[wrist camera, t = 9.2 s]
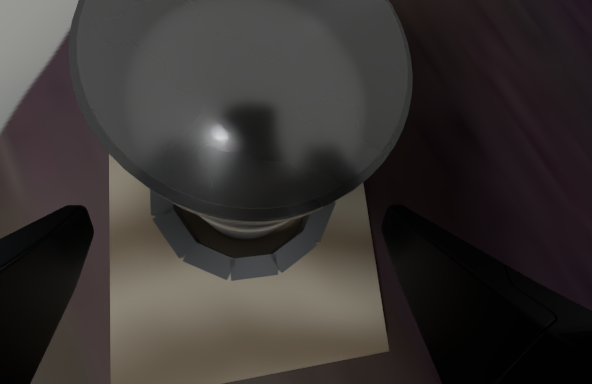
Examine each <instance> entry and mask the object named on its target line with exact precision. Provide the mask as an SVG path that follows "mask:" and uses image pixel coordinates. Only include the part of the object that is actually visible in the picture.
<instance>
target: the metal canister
mask: <svg viewBox="0 0 592 384" xmlns="http://www.w3.org/2000/svg"><path fill="white" fill-rule="evenodd" d="M69 68H70V73H71V79H72V85H73V89H74V92H75V95H76V98H77V100H78V103H79V106H80V109H81V111H82V113H83V115H84V117H85V119H86V121H87V123H88V125H89V126H90V128H91V130H92V132H93V133H94V135H95V136H96V137H97V139H98V140H99V141H100V143H101V144H102V146H103V147H104V148H105V150H106V151H107V152H108V153H109V154H110V155H111V156H112V157H113V158H114V159H115V160H116V161H117V162H118V163H119V164H120V165H121V166H122V167H123V168H124V169H125V170H126V171H127V172H128V173H130V174H131V175H132V176H134V177H135V178H136V179H137V180H139V181H140V182H141V183H143V184H144V185H145V186H147V187H148V188H150V189H151V190H153V191H154V192H156V193H157V194H159V195H160V196H161V197H163V198H165V199H166V200H168V201H170V202H172V203H173V204H175V205H177V206H178V207H180V208H182V209H184V210H187V211H189V212H192V213H194V214H197V215H199V216H200V217H201V218H202V219H203V220H205V221H206V222H207V223H208V224H210V225H211V226H212V227H213V228H215V229H216V230H217V231H218V232H220V233H222V234H224V235H226V236H228V237H231V238H234V239H240V240H251V239H257V238H261V237H263V236H266V235H268V234H270V233H271V232H273V231H274V230H276V229H277V228H279V227H281V226H282V225H284V224H285V223H287V222H288V221H290V220H293V219H297V218H300V217H303V216H305V215H308V214H310V213H313V212H315V211H317V210H320V209H321V208H323V207H325V206H327V205H329V204H331V203H332V202H334V201H336V200H338V199H339V198H341V197H343V196H344V195H346V194H348V193H350V192H351V191H353V190H354V189H355V188H357V187H358V186H359V185H361V184H362V183H363V182H364V181H366V180H367V179H368V178H369V177H370V176H371V175H372V174H373V173H374V172H375V171H376V170H377V169H378V168H379V167H380V166H381V165H382V164H383V162H384V161H385V159H386V158H387V157H388V155H389V154H390V152H391V151H392V149H393V148H394V146H395V144H396V142H397V140H398V138H399V136H400V134H401V132H402V130H403V128H404V125H405V122H406V119H407V116H408V113H409V107H410V102H411V96H412V80H413V74H412V63H411V56H410V51H409V47H408V42H407V39H406V36H405V33H404V30H403V27H402V25H401V22H400V20H399V18H398V16H397V14H396V12H395V10H394V8H393V6H392V4H391V3H390V1H389V0H79V1H78V4H77V8H76V11H75V14H74V17H73V20H72V25H71V31H70V38H69Z"/></svg>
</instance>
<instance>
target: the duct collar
mask: <svg viewBox="0 0 592 384" xmlns="http://www.w3.org/2000/svg"><path fill="white" fill-rule="evenodd" d="M335 204H336V203H335V202H332V203H331V204H329V205H327V206H325V207H323V208H321V209H320V210H317V211H315V212H313V213H310V214H308V215H305V216H303V219H302V221H301V223H300V226H299V228H298V230H297V233H296V234H295V235H293V236H292V237H291V238H289V239H288V240H287V241H285V242H284V243H283V244H281V245H280V246H279V247H277V248H276V249H275V250H273V251H272V252H271V253H269V254H261V255H253V256H244V257H236V258H234V257H232V256H229V255H227V254H225V253H222V252H220V251H218V250H216V249H213V248H211V247H209V246H206V245H204V244H202V243H201V242H200V240H199V239H198V237H197V236H196V235H195V233H194V232H193V230H192V229H191V227H190V226H189V225H188V223H187V222H186V220H185V219H184V217H183V216H182V212H181V208H180V207H178V206H177V205H175V204H173V203H172V202H170V201H168V200H166V199H165V198H163V197H161V196H160V195H159V194H157V193H156V192H154V191H153V190H151V189H150V209H151V215H152V216H154V217H155V218H153V219H152V220H153V221H154V223H155V224H156V226H157V227H158V229H159V230H160V231H161V233H162V234H163V236H164V237H165V239H166V240H167V242H168V243H169V245H170V246H171V247H172V249H173V250H174V252H175V253H176V255H177V256H178V258H184V259H183V262H186V263H188V264H190V265H192V266H195V267H197V268H199V269H202V270H204V271H206V272H209V273H211V274H213V275H216V276H218V277H220V278H223V279H225V280H227V279H228V277H229V275H230V273H231V281H235V280H242V279H250V278H257V277H265V276H272V275H278V271H279V272H281V273H283V272H284V271H285V270H287V269H288V268H289V267H291V266H292V265H293V264H294V263H296V262H297V261H298V260H300V259H301V258H302V257H303V256H305V255H306V254H307V253H309V252H310V251H311V250H312V249H314V248H315V247H316V246H318V245H317V244H316V243H317V242H320V241H321V239H322V236H323V234H324V231H325V229H326V226H327V224H328V221H329V219H330V216H331V214H332V211H333V209H334V206H335Z"/></svg>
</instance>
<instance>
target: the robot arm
mask: <svg viewBox="0 0 592 384" xmlns="http://www.w3.org/2000/svg"><path fill="white" fill-rule="evenodd" d="M382 233H383V237H384V240H385V243H386V247H387V250H388V253H389V256H390V260H391V263H392V266H393V269H394V272H395V274H396V277H397V279H398V282H399V284H400V286H401V289H402V291H403V293H404V296H405V298H406V300H407V302H408V305H409V307H410V309H411V312H412V314H413V316H414V319H415V321H416V323H417V326H418V328H419V330H420V333H421V335H422V337H423V340H424V342H425V344H426V347H427V349H428V351H429V354H430V356H431V358H432V361H433V363H434V365H435V368H436V370H437V372H438V375H439V377H440V379H441V382H442V384H592V311H591V310H589V309H587V308H585V307H583V306H581V305H579V304H577V303H575V302H573V301H571V300H569V299H567V298H565V297H563V296H561V295H560V294H558V293H556V292H554V291H552V290H550V289H548V288H546V287H544V286H542V285H541V284H539V283H537V282H535V281H533V280H531V279H530V278H528V277H526V276H524V275H523V274H521V273H519V272H517V271H515V270H514V269H512V268H510V267H509V266H507V265H503V263H502V262H500V261H498V260H496V259H495V258H493V257H491V256H489V255H488V254H486V253H484V252H482V251H481V250H479V249H477V248H475V247H474V246H472V245H470V244H469V243H467V242H465V241H463V240H462V239H460V238H458V237H456V236H455V235H453V234H451V233H449V232H448V231H446V230H444V229H443V228H441V227H439V226H437V225H436V224H434V223H432V222H430V221H429V220H427V219H425V218H423V217H422V216H420V215H418V214H416V213H415V212H413V211H411V210H410V209H408V208H406V207H404V206H403V205H390V206H388V208H387V210H386V213H385V216H384V219H383V222H382ZM93 235H94V229H93V225H92V223H91V220H90V217H89V214H88V211H87V209H86V207H85V206H83V205H67V206H64V207H63V208H61V209H59V210H57V211H55V212H53V213H51V214H49V215H47V216H45V217H43V218H41V219H39V220H37V221H35V222H33V223H31V224H29V225H27V226H25V227H23V228H21V229H19V230H17V231H15V232H13V233H11V234H9V235H7V236H5V237H3V238H1V239H0V384H30V383H31V381H32V379H33V377H34V375H35V373H36V371H37V368H38V366H39V364H40V362H41V360H42V358H43V356H44V354H45V352H46V349H47V347H48V345H49V343H50V341H51V339H52V337H53V335H54V333H55V330H56V328H57V326H58V324H59V322H60V320H61V318H62V316H63V314H64V311H65V309H66V307H67V305H68V303H69V301H70V299H71V297H72V295H73V292H74V290H75V288H76V286H77V283H78V280H79V278H80V275H81V272H82V269H83V266H84V263H85V260H86V257H87V254H88V251H89V248H90V245H91V242H92V239H93Z"/></svg>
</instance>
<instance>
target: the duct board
mask: <svg viewBox="0 0 592 384" xmlns="http://www.w3.org/2000/svg"><path fill="white" fill-rule="evenodd" d="M109 200H110V349H111V384H222V383H228V382H233V381H238V380H243V379H248V378H253V377H258V376H263V375H269V374H274V373H279V372H284V371H289V370H294V369H299V368H304V367H310V366H315V365H320V364H325V363H330V362H335V361H340V360H345V359H351V358H356V357H361V356H366V355H371V354H376V353H381V352H386V351H389V347H388V340H387V334H386V327H385V321H384V314H383V308H382V301H381V295H380V288H379V282H378V275H377V269H376V262H375V256H374V249H373V243H372V236H371V230H370V224H369V217H368V211H367V204H366V198H365V191H364V185H363V183H362V184H361V185H359V186H358V187H357V188H355V189H354V190H353V191H351V192H350V193H348V194H346V195H344V196H343V197H341V198H339V199H338V200H336V201H334V202H335V203H336V204H335V206H334V209H333V211H332V214H331V216H330V219H329V221H328V224H327V226H326V229H325V231H324V234H323V236H322V239H321V241H320V242H317V243H316V244H317V245H318V246H316V247H315V248H314V249H312V250H311V251H310V252H309V253H307V254H306V255H305V256H303V257H302V258H301V259H300V260H298V261H297V262H296V263H294V264H293V265H292V266H291V267H289V268H288V269H287V270H285V271H284V272H283V273H281V272H279V271H278V275H272V276H265V277H257V278H250V279H242V280H235V281H231V273H230V275H229V277H228V279H227V280H225V279H223V278H220V277H218V276H216V275H213V274H211V273H209V272H206V271H204V270H202V269H199V268H197V267H195V266H192V265H190V264H188V263H186V262H183V259H184V258H178V256H177V255H176V253H175V252H174V250H173V249H172V247H171V246H170V245H169V243H168V242H167V240H166V239H165V237H164V236H163V234H162V233H161V231H160V230H159V229H158V227H157V226H156V224H155V223H154V221H153V220H152V219H153V218H155V217H154V216H152V215H151V209H150V188H148V187H147V186H145V185H144V184H143V183H141V182H140V181H139V180H137V179H136V178H135V177H134V176H132V175H131V174H130V173H128V172H127V171H126V170H125V169H124V168H123V167H122V166H121V165H120V164H119V163H118V162H117V161H116V160H115V159H114V158H113V157H112V156H111V155H110V154H109ZM181 212H182V216H183V217H184V219H185V220H186V222H187V223H188V225H189V226H190V227H191V229H192V230H193V232H194V233H195V235H196V236H197V237H198V239H199V240H200V242H201V243H202V244H204V245H206V246H209V247H211V248H213V249H216V250H218V251H220V252H222V253H225V254H227V255H229V256H232V257H234V258H236V257H244V256H253V255H261V254H269V253H271V252H272V251H273V250H275V249H276V248H277V247H279V246H280V245H281V244H283V243H284V242H285V241H287V240H288V239H289V238H291V237H292V236H293V235H295V234H296V233H297V230H298V228H299V226H300V223H301V221H302V219H303V217H300V218H297V219H293V220H290V221H288V222H287V223H285V224H284V225H282V226H281V227H279V228H277V229H276V230H274V231H273V232H271V233H270V234H268V235H266V236H263V237H261V238H257V239H251V240H240V239H234V238H231V237H228V236H226V235H224V234H222V233H220V232H218V231H217V230H216V229H215V228H213V227H212V226H211V225H210V224H208V223H207V222H206V221H205V220H203V219H202V218H201V217H200V216H199V215H197V214H194V213H192V212H189V211H187V210H184V209H182V208H181Z"/></svg>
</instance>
